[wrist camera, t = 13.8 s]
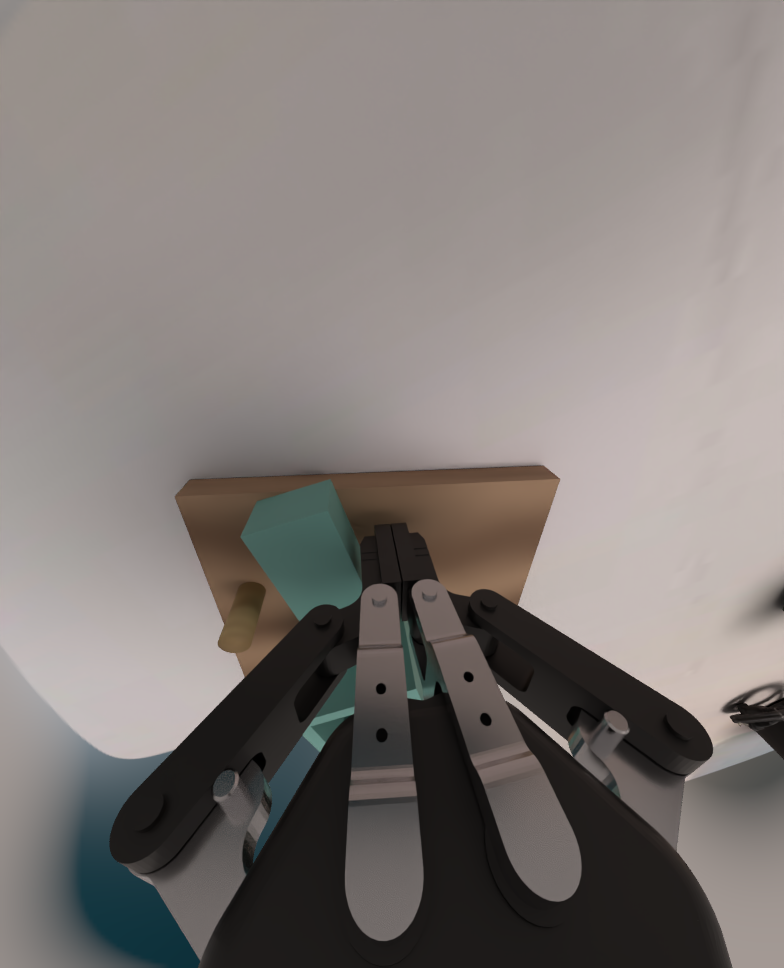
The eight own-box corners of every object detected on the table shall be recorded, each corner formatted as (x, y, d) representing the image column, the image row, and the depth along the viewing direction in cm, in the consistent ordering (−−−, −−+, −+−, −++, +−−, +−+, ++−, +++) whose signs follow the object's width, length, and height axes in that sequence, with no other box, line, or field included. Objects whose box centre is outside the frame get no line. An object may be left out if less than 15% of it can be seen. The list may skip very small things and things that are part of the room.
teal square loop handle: (234, 508, 14) (176, 611, 9) (352, 472, 14) (356, 558, 9) (339, 664, 21) (337, 769, 16) (418, 641, 21) (439, 740, 16)
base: (189, 479, 14) (47, 634, 8) (543, 465, 17) (682, 576, 10) (266, 699, 24) (234, 853, 17) (481, 672, 27) (529, 799, 20)
